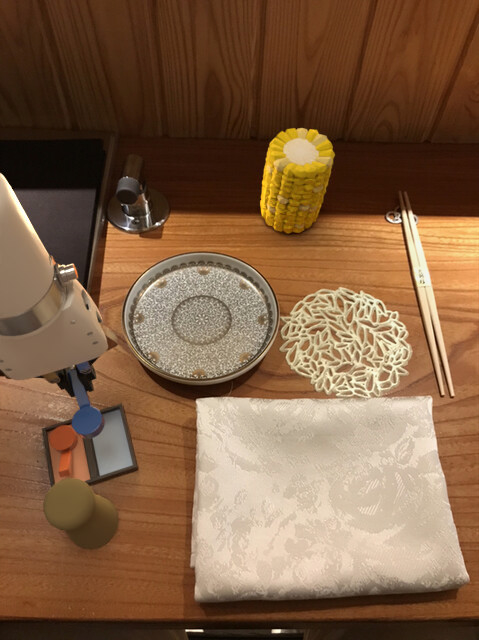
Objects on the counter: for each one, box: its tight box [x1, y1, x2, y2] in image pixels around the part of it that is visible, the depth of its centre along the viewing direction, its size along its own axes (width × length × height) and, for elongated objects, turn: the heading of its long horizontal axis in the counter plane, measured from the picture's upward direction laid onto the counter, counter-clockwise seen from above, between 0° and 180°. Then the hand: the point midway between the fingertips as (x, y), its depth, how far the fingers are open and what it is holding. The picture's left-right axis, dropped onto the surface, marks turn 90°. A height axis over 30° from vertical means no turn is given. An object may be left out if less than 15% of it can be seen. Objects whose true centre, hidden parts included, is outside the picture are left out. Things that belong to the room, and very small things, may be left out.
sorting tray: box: [41, 402, 139, 488], centre depth 70 cm, size 10×9×1 cm
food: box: [259, 127, 336, 235], centre depth 83 cm, size 15×12×10 cm
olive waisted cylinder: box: [42, 478, 120, 550], centre depth 61 cm, size 6×6×11 cm
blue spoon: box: [67, 367, 105, 439], centre depth 60 cm, size 7×3×4 cm, turn 18°
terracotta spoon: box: [50, 425, 78, 477], centre depth 68 cm, size 7×3×4 cm, turn 18°
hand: (80, 382), depth 63 cm, fingers closed on blue spoon, 1 cm apart
